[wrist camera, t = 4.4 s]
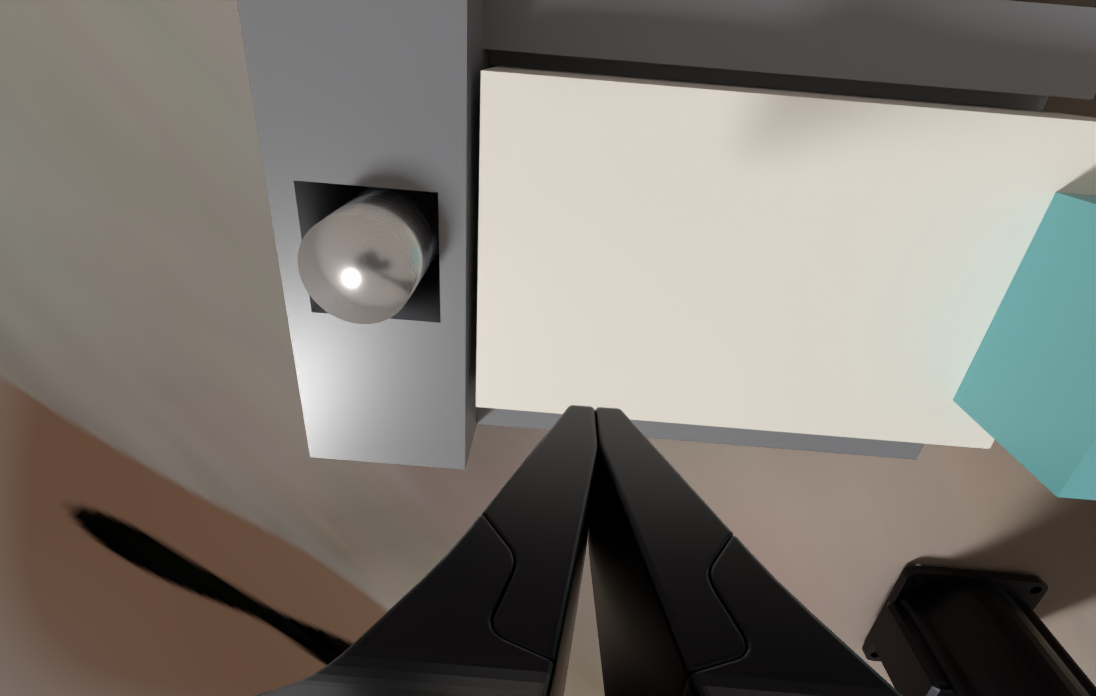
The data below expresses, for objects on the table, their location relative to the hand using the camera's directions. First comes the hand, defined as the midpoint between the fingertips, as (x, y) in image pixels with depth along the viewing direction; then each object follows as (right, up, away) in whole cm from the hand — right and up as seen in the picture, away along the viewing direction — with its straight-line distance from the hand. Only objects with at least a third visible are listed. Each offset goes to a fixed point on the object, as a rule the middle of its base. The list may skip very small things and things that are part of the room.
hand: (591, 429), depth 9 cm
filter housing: (+3, +6, +10) cm, 12 cm away
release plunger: (-5, +6, +9) cm, 12 cm away
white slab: (+5, +5, +9) cm, 11 cm away
